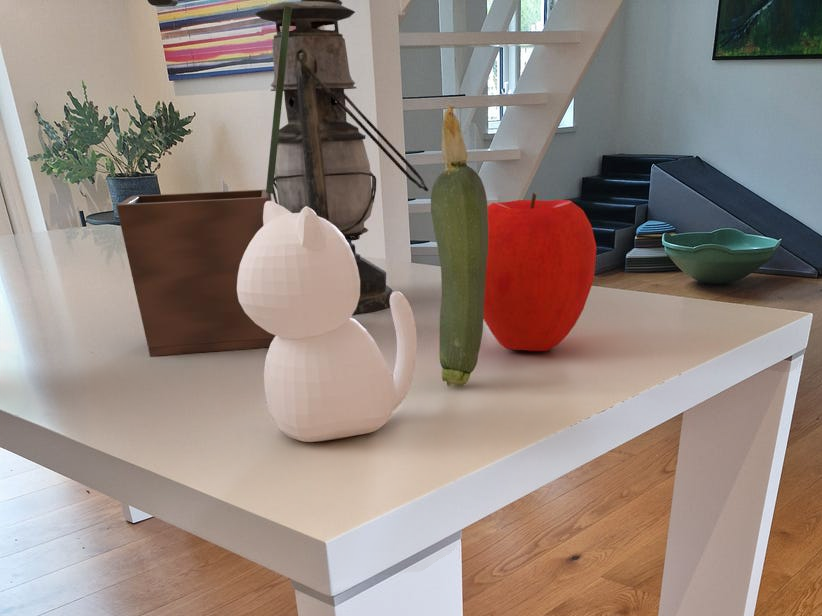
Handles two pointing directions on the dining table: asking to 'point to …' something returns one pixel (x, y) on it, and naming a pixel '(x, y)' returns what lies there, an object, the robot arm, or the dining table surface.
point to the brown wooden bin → (192, 268)
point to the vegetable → (460, 255)
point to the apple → (537, 271)
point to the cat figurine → (319, 330)
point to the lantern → (326, 135)
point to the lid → (278, 98)
